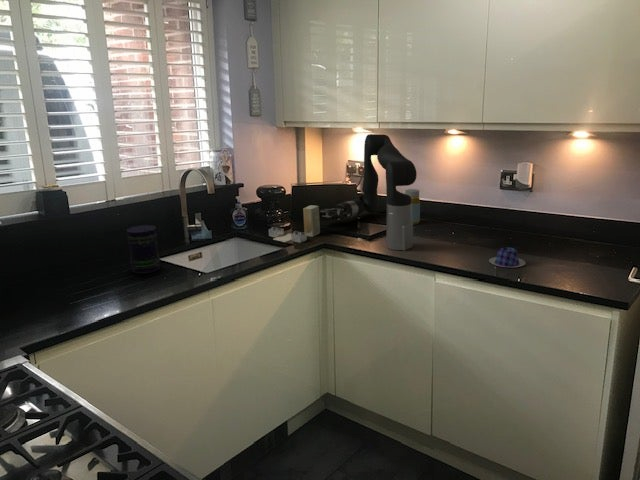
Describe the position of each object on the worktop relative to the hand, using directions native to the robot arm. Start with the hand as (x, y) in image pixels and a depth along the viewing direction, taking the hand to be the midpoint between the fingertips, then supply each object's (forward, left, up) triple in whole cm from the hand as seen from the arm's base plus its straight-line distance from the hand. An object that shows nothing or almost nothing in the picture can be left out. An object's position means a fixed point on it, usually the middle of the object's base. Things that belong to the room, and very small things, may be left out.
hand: (323, 217), depth 237 cm
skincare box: (0, +8, -6) cm, 10 cm away
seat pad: (+5, +18, -6) cm, 20 cm away
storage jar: (+20, +76, -6) cm, 79 cm away
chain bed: (+5, +18, -6) cm, 20 cm away
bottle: (-25, -32, -6) cm, 41 cm away
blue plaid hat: (-81, -2, -7) cm, 81 cm away
